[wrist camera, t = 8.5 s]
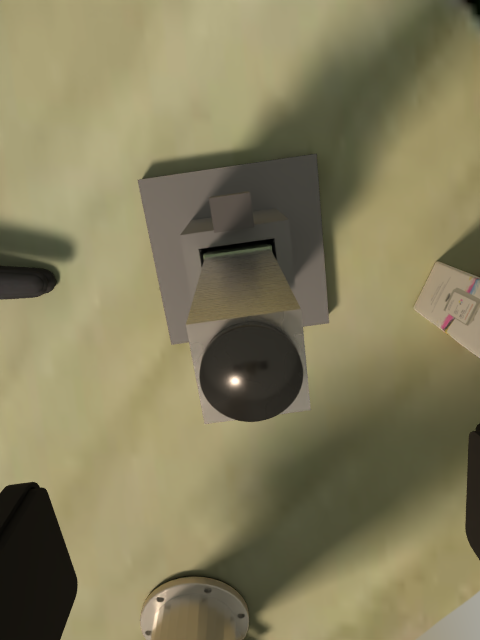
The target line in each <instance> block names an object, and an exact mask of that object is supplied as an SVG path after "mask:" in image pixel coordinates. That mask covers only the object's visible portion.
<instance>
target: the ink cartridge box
mask: <svg viewBox="0 0 480 640" xmlns="http://www.w3.org/2000/svg"><path fill="white" fill-rule="evenodd" d="M414 310H416V311H417V312H418V313H420V314H421V315H422V316H424V317H425V318H426V319H428V320H429V321H430V322H432V323H433V324H435V325H436V326H437V327H438V328H440V329H441V330H442V331H444V332H445V333H447V334H448V335H449V336H451V337H452V338H453V339H455V340H456V341H457V342H458V343H460V344H461V345H462V346H464V347H465V348H466V349H468V350H469V351H470V352H472V353H473V354H475V355H476V356H477V357H479V358H480V277H477V276H475V275H472V274H470V273H467V272H465V271H462V270H459V269H457V268H454V267H452V266H449V265H447V264H444V263H442V262H439V261H437V262H436V263H435V264H434V267H433V269H432V271H431V273H430V275H429V277H428V279H427V281H426V283H425V285H424V287H423V289H422V291H421V293H420V295H419V297H418V299H417V301H416V303H415V305H414Z"/></svg>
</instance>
